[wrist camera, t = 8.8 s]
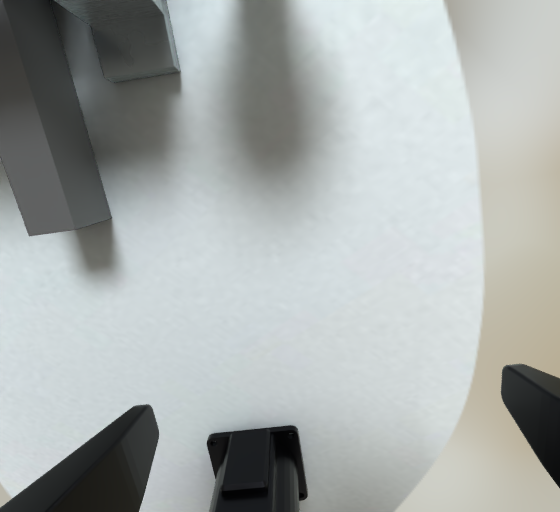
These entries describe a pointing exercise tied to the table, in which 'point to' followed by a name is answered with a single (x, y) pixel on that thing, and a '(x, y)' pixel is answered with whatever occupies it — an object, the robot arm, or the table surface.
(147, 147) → the table surface
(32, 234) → the plug
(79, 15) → the gray arch-shaped bracket
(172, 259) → the table surface
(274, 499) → the robot arm
